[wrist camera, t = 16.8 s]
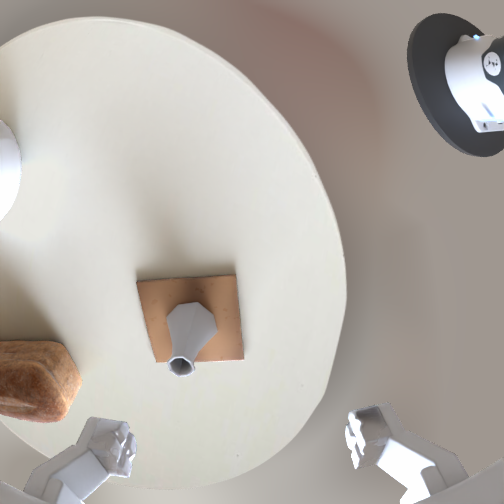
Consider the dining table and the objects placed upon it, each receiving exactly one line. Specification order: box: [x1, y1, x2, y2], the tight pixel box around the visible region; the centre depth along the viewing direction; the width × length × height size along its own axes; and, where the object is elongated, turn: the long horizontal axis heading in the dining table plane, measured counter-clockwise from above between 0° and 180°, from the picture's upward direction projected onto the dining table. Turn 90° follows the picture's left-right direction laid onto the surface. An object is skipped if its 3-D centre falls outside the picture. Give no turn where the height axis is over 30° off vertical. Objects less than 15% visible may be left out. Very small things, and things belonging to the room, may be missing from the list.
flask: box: [166, 302, 218, 377], centre depth 37 cm, size 7×7×10 cm
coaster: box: [136, 274, 244, 362], centre depth 42 cm, size 14×14×1 cm
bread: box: [0, 340, 82, 423], centre depth 38 cm, size 12×28×14 cm, turn 99°
